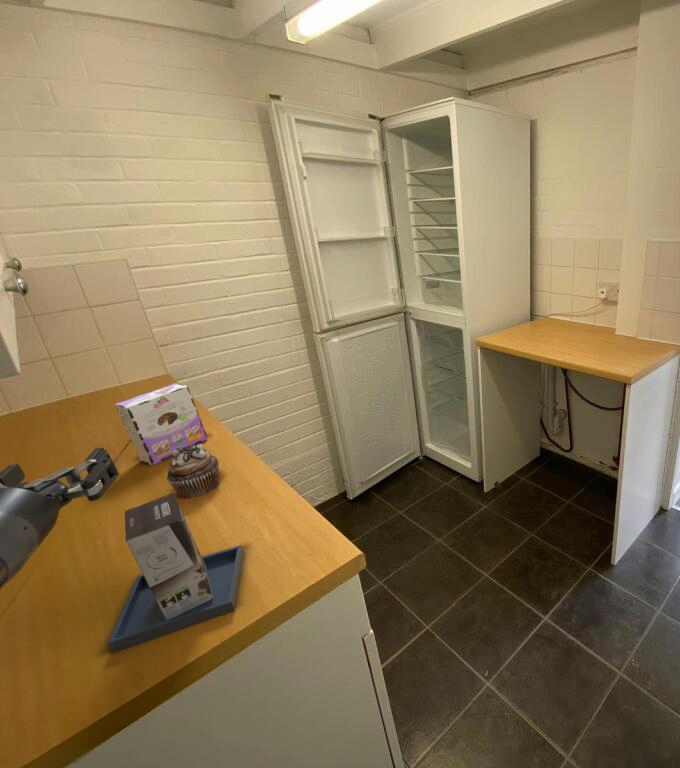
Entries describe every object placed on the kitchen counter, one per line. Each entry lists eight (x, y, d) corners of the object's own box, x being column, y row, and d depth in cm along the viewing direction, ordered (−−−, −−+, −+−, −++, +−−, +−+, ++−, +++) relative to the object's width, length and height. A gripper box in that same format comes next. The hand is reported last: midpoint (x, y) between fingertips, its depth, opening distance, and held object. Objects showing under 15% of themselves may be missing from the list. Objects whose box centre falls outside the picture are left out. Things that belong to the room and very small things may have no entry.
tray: (113, 652, 60) (107, 643, 59) (142, 584, 71) (137, 575, 70) (235, 610, 66) (231, 601, 65) (244, 553, 77) (241, 544, 76)
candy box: (196, 435, 118) (175, 382, 111) (208, 439, 115) (189, 385, 109) (139, 461, 106) (113, 403, 100) (152, 466, 104) (126, 407, 97)
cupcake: (169, 489, 95) (152, 451, 91) (217, 469, 102) (204, 434, 98) (180, 506, 89) (163, 467, 85) (230, 484, 96) (217, 447, 92)
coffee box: (215, 598, 67) (181, 519, 61) (165, 623, 64) (123, 542, 57) (207, 565, 74) (175, 491, 67) (161, 585, 70) (123, 509, 63)
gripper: (60, 492, 43) (118, 424, 56) (-148, 538, 37) (-29, 451, 51) (91, 547, 46) (139, 470, 59) (-97, 597, 40) (2, 500, 54)
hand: (61, 461), depth 55 cm, fingers open, 8 cm apart
